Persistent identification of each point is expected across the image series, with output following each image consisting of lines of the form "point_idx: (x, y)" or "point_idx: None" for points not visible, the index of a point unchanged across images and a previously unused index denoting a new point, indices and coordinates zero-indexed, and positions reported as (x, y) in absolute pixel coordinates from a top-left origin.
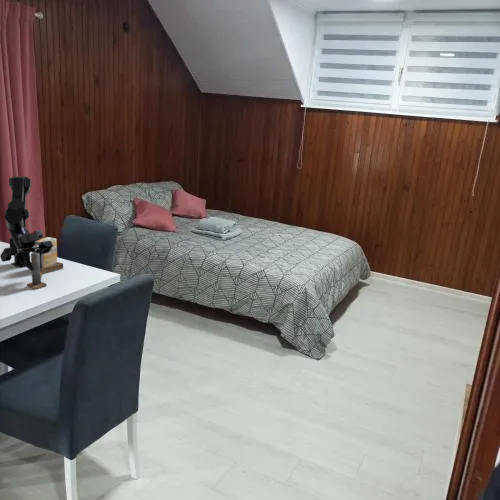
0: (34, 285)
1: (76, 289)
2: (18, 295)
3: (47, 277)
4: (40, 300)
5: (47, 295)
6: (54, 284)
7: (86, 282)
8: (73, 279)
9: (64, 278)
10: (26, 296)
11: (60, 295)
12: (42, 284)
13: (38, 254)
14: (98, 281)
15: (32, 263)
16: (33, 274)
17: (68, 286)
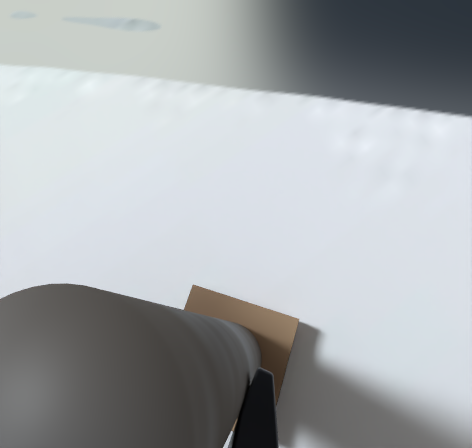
0: (268, 348)
1: (172, 95)
2: (465, 361)
3: None
4: (440, 157)
5: (342, 175)
6: (141, 263)
7: (45, 116)
8: (13, 211)
9: (8, 276)
10: (442, 288)
11: (300, 111)
12: (220, 302)
13: (56, 298)
14: (12, 74)
15: (235, 410)
16: (254, 370)
17: (143, 162)
